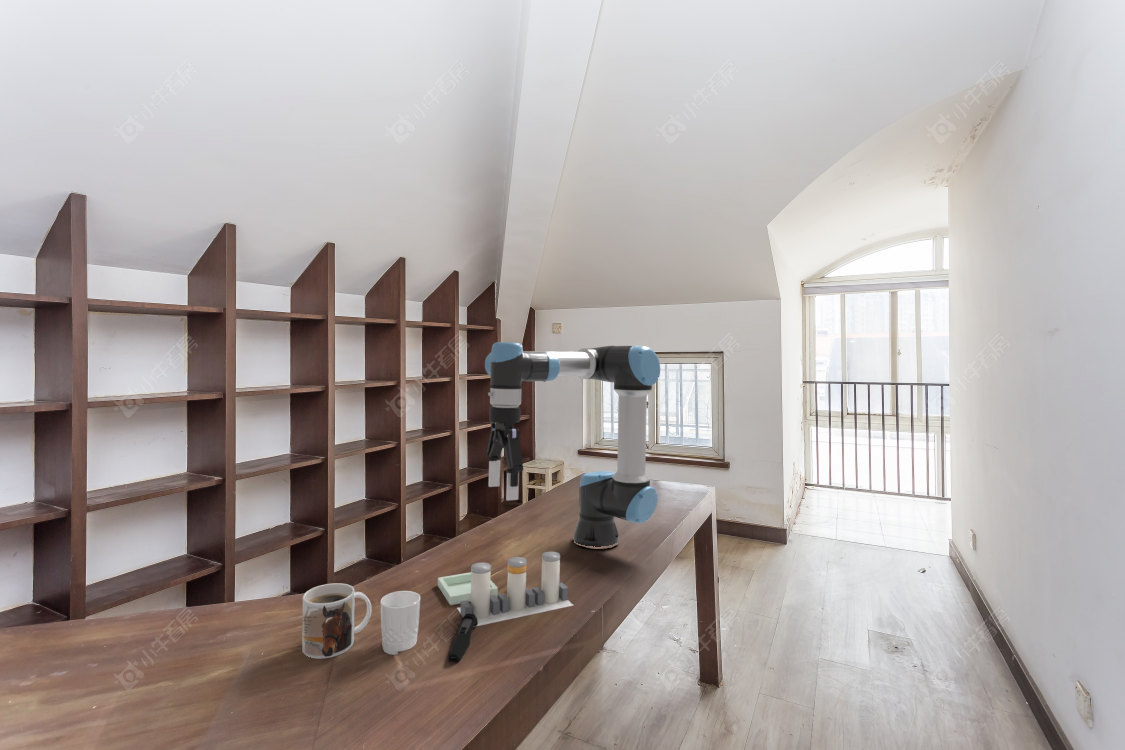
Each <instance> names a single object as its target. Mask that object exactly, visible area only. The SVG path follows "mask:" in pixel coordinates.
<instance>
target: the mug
mask: <svg viewBox="0 0 1125 750" xmlns="http://www.w3.org/2000/svg"><path fill="white" fill-rule="evenodd" d="M355 599H362V600H363V601H365V604H366V614H365V616H364V618H363V620H362V621H361V622H360V623H359V624H358V625H357V626H355V603H356V602H355ZM301 613H302V614H301V615H302V623H301V626H302V628H301V629H302V630H301V636H302V637H301V641H302V642H301V651H302V654H303V653H304V654H305V655H306V656H305V655H304V654H303V655H304V656H305V657H307V656H308V657H307V658H310V657H311V658H310V659H318V660H319V659H320V660H322V659H329V658H335V657H336V656H337V657H338V656H340V655H342V654H343V653H345V652H347V651H349V650H350V649H351V648H352V647H353V645H354V642H355V634H357V633H359V632H361V631H363V629H364V628H366V626H367V625H368V623H369V622H370V620H371V615H372V603H371V601H370V599H369V597H368V596H367V595H366V594H365V593H364V592H360V591H355V587H353V585H350V584H347V583H340V582H338V583H337V582H335V583H333V582H332V583H326V584H322V585H317V586H314V587H312V588H310V589H309V590H307V591H306V592H305V593H304V594H303V596H302V612H301Z"/></svg>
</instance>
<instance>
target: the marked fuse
mask: <svg viewBox="0 0 1125 750" xmlns="http://www.w3.org/2000/svg"><path fill="white" fill-rule="evenodd" d="M506 585H507V587H506V588H507V590H506V592H507V593H506V597H507V598H508V599H509V610H512V611H520V610H523V609H524V608H525V598H526V589H527V558H526V557H522V556H513V557H510V558H508V559H507V584H506Z"/></svg>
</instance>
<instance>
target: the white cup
mask: <svg viewBox="0 0 1125 750" xmlns="http://www.w3.org/2000/svg"><path fill="white" fill-rule="evenodd" d="M379 601H380V626H381V627H380V628H381V639H382V642H381V643H382V645H381V647H382V650H383V652H384V653H386V654H388V655H391V656H392V655H393V656H398V655H399V652H404V651H407V650H409V649H412V648H413V647H414V646H416V644H417V641H418V632H419V624H420V623H419V622H420V608H421V595H420V594H419V593H418V592H415V591H411V590H400V591H399V590H398V591H393V592H390V593H387V594H386V595H384V596H382V598H381V599H380V600H379Z"/></svg>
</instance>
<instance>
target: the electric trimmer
mask: <svg viewBox="0 0 1125 750" xmlns="http://www.w3.org/2000/svg"><path fill="white" fill-rule="evenodd" d="M477 621H478V620H477V618H476V616H475V615H473V614H466V615H465V616H464V617H462V618H461V619H460V622H459V625H458V628H457V631H456V634H455V636H454V638H453V641H452V644H451V646H450V649H449V653H448V656H447V660H448V661H449V662H460V661H461V660H462V658H463V656H464V655H465V654H466V652H467V650H468V648H469V646H470V644H471V636H472V632H473V629H474V628H475V627H474V626H476V627H478V626H477V624H478V622H477Z"/></svg>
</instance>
